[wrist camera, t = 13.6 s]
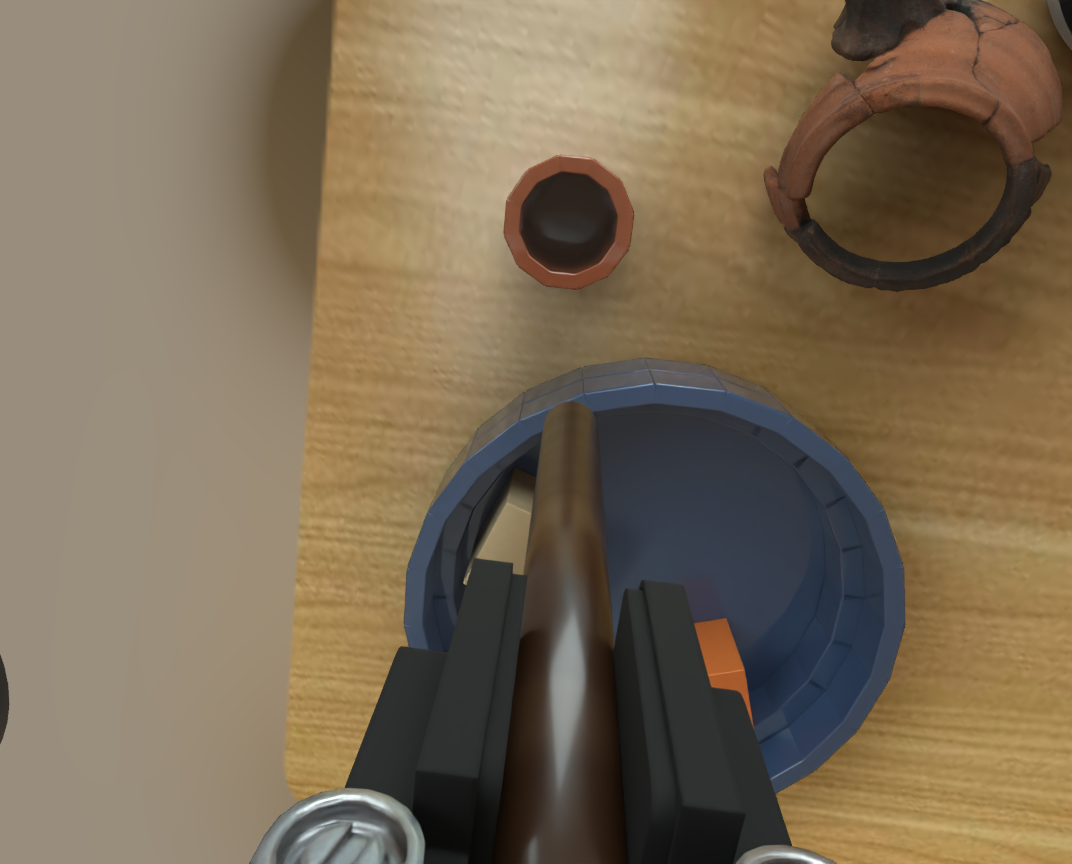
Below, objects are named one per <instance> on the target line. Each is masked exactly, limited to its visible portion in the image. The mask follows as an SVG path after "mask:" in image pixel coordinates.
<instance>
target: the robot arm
mask: <svg viewBox="0 0 1072 864" xmlns="http://www.w3.org/2000/svg"><path fill="white" fill-rule="evenodd" d="M512 573H513V563H509V562H502V561H494V560H486V559H479V558H474V560H473V563H472V566H471V570H470V574H469V577H468V581H467V585H466V588H465V592H464V596H463V599H462V603H461V607H460V610H459V614H458V618H457V621H456V625H455V628H454V632H453V636H452V639H451V643H450V647H449V650H448V652H440V651H433V650H425V649H417V648H410V647H402V646H401V647H400V648H399V649H398V651H397V653H396V655H395V658H394V661H393V663H392V666H391V668H390V671H389V674H388V676H387V679H386V681H385V684H384V687H383V689H382V692H381V694H380V697H379V700H378V702H377V705H376V707H375V710H374V713H373V715H372V718H371V720H370V723H369V726H368V728H367V731H366V733H365V736H364V739H363V741H362V744H361V746H360V749H359V752H358V754H357V757H356V759H355V762H354V765H353V767H352V770H351V772H350V775H349V778H348V780H347V783H346V785H345V788H342V789H336V790H331V791H325V792H320V793H318V794H316V795H313V796H311V797H309V798H306V799H304V800H302V801H299V802H297V803H296V804H295V805H294V806H292V807H291V808H290V809H288V810H287V811H286V812H284V813H283V814H282V815H280V816H279V817H278V818H277V820H276V821H275V822H274V823H273V825H272V826H271V827H270V829H269V830H268V831H267V833H266V834H265V835H264V837H263V839H262V841H261V842H260V845H259V846H258V848H257V850H256V852H255V853H254V855H253V857H252V859H251V861H250V863H249V864H492V858H493V851H494V843H495V835H496V827H497V820H498V812H499V804H500V796H501V789H502V781H503V773H504V765H505V757H506V748H507V740H508V732H509V724H510V716H511V708H512V699H513V691H514V683H515V675H516V667H517V659H518V650H519V642H520V634H521V626H522V618H523V609H524V601H525V593H526V585H527V577H528V576H527V575H520V574H512ZM613 655H614V669H615V683H616V697H617V711H618V725H619V739H620V753H621V767H622V781H623V795H624V809H625V823H626V837H627V851H628V864H837V863H836V862H834V861H833V860H830V859H828V858H826V857H824V856H821V855H819V854H817V853H815V852H812V851H810V850H807V849H803V848H798V847H793V846H792V844H791V841H790V838H789V835H788V832H787V829H786V826H785V823H784V820H783V817H782V814H781V810H780V807H779V804H778V801H777V798H776V795H775V792H774V789H773V786H772V783H771V780H770V777H769V774H768V771H767V768H766V765H765V762H764V759H763V756H762V753H761V750H760V747H759V744H758V741H757V738H756V734H755V731H754V728H753V725H752V722H751V719H750V716H749V713H748V710H747V707H746V704H745V701H744V699H743V697H742V695H741V693H740V692H738V691H737V690H730V689H722V688H715V687H711V684H710V680H709V676H708V673H707V669H706V665H705V662H704V658H703V654H702V651H701V647H700V643H699V640H698V636H697V632H696V629H695V625H694V621H693V618H692V614H691V610H690V607H689V603H688V599H687V595H686V592H685V588H684V586H683V585H679V584H671V583H664V582H656V581H648V580H642V581H641V582H640V586H639V589H638V590H635V589H628V588H626V589H625V591H624V594H623V599H622V605H621V610H620V616H619V622H618V628H617V633H616V639H615V645H614V651H613Z"/></svg>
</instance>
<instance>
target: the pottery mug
mask: <svg viewBox="0 0 1072 864" xmlns="http://www.w3.org/2000/svg"><path fill="white" fill-rule="evenodd" d="M845 2H846V4H845V7H844V9H843V11H842V13H841V15H840V16H839V18H838V20H837V21H836V23H835V25H834V29H835V31H834V32H833V39H832V41H831V45H832V48H833V50H834V51H835V52H836V53H837V54H839V55H842V56H843V57H844V58H846V59H848V60H852V61H865V60H868V59H871V58H874V60H873V61H872V62H871V63H870V64H869V65H868V67H867V68H866V70H865V71H864V72H863V73H862V74H861V75H860V76H859V77H858V78H857V79H856V80H852V79H851V78H848V77H847V76H846V75H845V74H843V73H841V72H837V73H836V74H835V75H834V76H833V77H832V78H831V79H830V80H829V81H828V83H827V84H826V86H825V87H824V88H823V89H822V90H821V91H820V93H819V94H818V95H817V96H816V98H815V100H814V101H813V103H812V104H811V105H810V106H809V107H808V108H807V110H806V111H805V112H804V113H803V115H802V117H801V119H800V120H799V122H798V125H797V127H796V128H795V130H794V132H793V134H792V136H791V139H790V140H789V141H788V143H787V146H786V147H785V149H784V152H783V155H782V158H781V161H780V165H779V170H778V173H777V171H776V170H775V169H774V168H773V167H772V166H770V167H768V168H767V169H766V170H765V172H764V181H765V185H766V189H767V192H768V196H769V199H770V202H771V205H772V207H773V210H774V212H775V214H776V216H777V218H778V219H779V221H780V222H781V223H782V224H783V225H784V229H785V231H786V233H787V234H788V235H789V236H790V237H791V238H792V239H793V240H794V241H796V242H797V243H798V245H799V247H800V248H801V250H802V251H803V252H804V253H805V254H806V255H807V256H808V257H809V258H810V259H811V260H812V261H813V262H814V263H815V264H816V265H818V266H820V267H821V268H823V269H824V270H825V271H826V272H828V273H829V274H830V275H832V276H834V277H836V278H838V279H840V280H842V281H844V282H846V283H849V284H853V285H856V286H861V287H865V288H873V287H875V288H877V289H879V290H889V291H896V292H899V291H904V290H917V289H927V288H930V287H934V286H937V285H940V284H944V283H948V282H950V281H954V280H955V279H958V278H960V277H961V276H963V275H966V274H968V273H970V272H973V271H974V270H976V269H977V268H978V267H979V265H980V264H982V263H985V262H986V261H988V260H989V259H990V258H991V257H992V256H993V255H995V254H996V253H997V252H998V251H999V250H1000V249H1001V248H1002V247H1004V246H1005V245H1006V244H1008V243H1009V242H1010V240H1011V238H1012V237H1013V236H1014V235H1015V234H1016V233H1017V232H1018V230H1019V229H1020V228H1021V226H1022V225H1023V224H1024V222H1025V221H1026V220H1027V219H1028V218H1029V217H1030V214H1031V207H1032V206H1033V205H1034V203H1036V202H1037V201H1038V200H1039V199H1040V197H1041V196H1042V194H1043V192H1044V190H1045V188H1046V186H1047V184H1048V183H1049V181H1050V178H1051V175H1052V172H1051V169H1050V167H1049V165H1047V164H1042V163H1040V162H1038V161H1037V159H1036V158H1035V156H1034V153H1033V148H1032V143H1033V142H1035V141H1037V140H1039V139H1041V138H1042V137H1044V135H1045V134H1046V133H1048V132H1050V131H1051V130H1052V129H1053V128H1054V127H1055V126H1057V125H1058V124H1059V123H1060V122H1061V120H1062V107H1061V104H1062V100H1063V94H1062V88H1061V83H1060V79H1059V76H1058V73H1057V71H1056V68H1055V66H1054V63H1053V60H1052V58H1051V55H1050V52H1049V50H1048V49H1047V47H1046V45H1045V44H1044V43H1043V41H1042V40H1041V39H1040V38H1039V36H1038V35H1037V34H1036V33H1035V32H1034V31H1033V30H1032V29H1031V28H1030V27H1028V26H1027V25H1026V24H1025V23H1024V22H1022V21H1020V20H1018V19H1017V18H1015V17H1013V16H1012V15H1010V14H1008V13H1007V12H1005V11H1003V10H1001V9H999V8H998V7H996V6H994V5H991V4H989V3H987V2H984V1H982V0H845ZM913 106H927V107H938V108H944V109H948V110H952V111H955V112H959V113H962V114H964V115H966V116H968V117H970V118H971V119H973V120H975V121H976V122H978V123H979V124H981V125H982V126H983V127H984V128H985V129H986V130H987V131H988V132H989V133H990V134H991V135H992V137H993V138H994V139H995V141H996V142H997V144H998V145H999V148H1000V150H1001V153H1002V156H1003V159H1004V162H1005V164H1006V166H1007V168H1006V171H1007V176H1006V185H1005V190H1004V193H1003V196H1002V198H1001V201H1000V203H999V205H998V207H997V208H996V210H995V212H994V213H993V215H992V216H991V217H990V219H989V220H988V221H987V222H986V224H985V225H984V226H983V227H982V228H981V229H980V230H979V231H978V232H977V233H976V234H975V235H974V236H973V237H971V238H970V239H968V240H967V241H965V242H963V243H962V244H960V245H959V246H957V247H955V248H953V249H951V250H949V251H946V252H944V253H941V254H939V255H936V256H933V257H930V258H927V259H923V260H917V261H910V262H885V261H878V260H873V259H869V258H864V257H861V256H858V255H856V254H853V253H851V252H849V251H847V250H845V249H844V248H842V247H840V246H839V245H838V244H837V243H836V242H834V241H833V240H832V239H831V238H830V237H829V236H828V235H827V234H826V233H825V232H824V231H823V230H822V228H821V227H820V226H819V224H818V223H817V222H816V221H815V220H813V219H811V218H810V216H809V213H808V210H807V206H806V203H805V198H807V197H808V196H809V195H810V194H811V191H812V186H813V182H814V178H815V175H816V172H817V170H818V168H819V165H820V163H821V161H822V160H823V158H824V156H825V155H826V154H827V152H828V151H829V150H830V149H831V147H832V146H833V145H834V144H835V143H836V142H837V141H838V140H839V139H840V138H841V137H842V136H843V135H845V134H846V133H847V132H849V131H850V130H851V129H853V128H854V127H856V126H857V125H859V124H860V123H862V122H864V121H865V120H867V119H869V118H870V117H871V116H873V115H874V114H876V113H882V112H886V111H889V110H893V109H898V108H905V107H913Z"/></svg>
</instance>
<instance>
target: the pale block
mask: <svg viewBox="0 0 1072 864" xmlns="http://www.w3.org/2000/svg"><path fill="white" fill-rule="evenodd" d="M535 483H536V477H534V476H532V475H530V474H528V473H526V472H524V471H522V470H520V469H518V468H516V467H514V468H513V469H512V471H511V473H510V475H509V477H508V479H507V481H506V483H505V485H504V486H503V488H502V490H501V492H500V494H499V496H498V498H497V500H496V502H495V503H494V505H493V507H492V509H491V511H490V513H489V515H488V517H487V519H486V520H485V522H484V524H483V526H482V528H481V530H480V532H479V534H478V536H477V537H476V539H475V542H474V546H473V550H472V553H471V557H470V560H469V564H468V567H467V571H466V575H465V578H464V582H463V583H464V584H465V585H467V581H468V577H469V574H470V570H471V566H472V563H473V560H474V558H479V559H486V560H494V561H502V562H509V563H513V573H512V574H520V575H523V572H524V565H525V557H526V550H527V543H528V535H529V528H530V520H531V513H532V506H533V498H534V491H535Z"/></svg>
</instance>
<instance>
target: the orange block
mask: <svg viewBox="0 0 1072 864" xmlns="http://www.w3.org/2000/svg"><path fill="white" fill-rule="evenodd" d="M694 625H695V629H696V632H697V636H698V640H699V643H700V647H701V651H702V654H703V658H704V662H705V665H706V669H707V673H708V676H709V680H710V684H711V687H715V688H722V689H730V690H737V691H738V692H740V693H741V695H742V697H743V699H744V701H745V704H746V707H747V710H748V713H749V716H750V719H751V722H752V725H753V720H752V713H751V706H750V700H749V693H748V687H747V680H746V674H745V669H744V666H743V663H742V661H741V658H740V655H739V652H738V649H737V647H736V644H735V641H734V638H733V636H732V633H731V630H730V627H729V624H728V622H727V619H726V618H723V619H717V620H711V621H705V622H698V623H694ZM753 728H754V726H753Z"/></svg>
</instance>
